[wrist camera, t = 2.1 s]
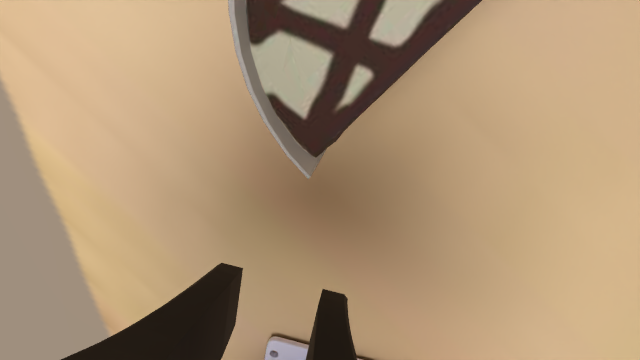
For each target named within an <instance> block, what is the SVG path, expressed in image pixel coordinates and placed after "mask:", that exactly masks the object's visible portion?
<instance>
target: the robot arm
mask: <svg viewBox="0 0 640 360" xmlns="http://www.w3.org/2000/svg"><path fill="white" fill-rule="evenodd" d="M242 271H243V268H240V267H236V266H232V265H228V264H224V263H221V264H219V265H217V266H216V267H215V268H214V269H212V270H211V271H210V272H208V273H207V274H206V275H205V276H203V277H202V278H201V279H199V280H198V281H197V282H195V283H194V284H193V285H191V286H190V287H189V288H187V289H186V290H185V291H183V292H182V293H180V294H179V295H178V296H176V297H175V298H173V299H172V300H171V301H169V302H168V303H166V304H165V305H163V306H162V307H160V308H159V309H157V310H155V311H154V312H152V313H151V314H149V315H147V316H146V317H144V318H143V319H141V320H140V321H138V322H136V323H134V324H133V325H131V326H129V327H128V328H126V329H124V330H122V331H120V332H119V333H117V334H115V335H113V336H111V337H109V338H107V339H105V340H103V341H101V342H99V343H97V344H95V345H93V346H91V347H89V348H86V349H84V350H82V351H79V352H77V353H75V354H73V355H70V356H68V357H66V358H64V359H61V360H221V358H222V356H223V354H224V351H225V349H226V346H227V344H228V341H229V339H230V336H231V334H232V331H233V329H234V326H235V322H236V315H237V308H238V300H239V293H240V286H241V278H242ZM347 300H348V299H347V297H346V296H345V295H344V294H340V293H337V292H333V291H329V290H325V289H323V290H322V293H321V297H320V301H319V305H318V309H317V313H316V317H315V322H314V326H313V330H312V334H311V339H310V343H309V345H307V344H303V343H299V342H296V341H292V340H288V339H284V338H281V337H276V336H274V337H271V338H270V339H269V341H268V344H267V348H266V353H265V359H264V360H362V359H359V358H357V357H356V353H355V349H354V345H353V341H352V336H351V331H350V325H349V318H348V306H347ZM272 350H274V351H277V352H273V351H272Z"/></svg>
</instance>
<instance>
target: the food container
mask: <svg viewBox="0 0 640 360" xmlns="http://www.w3.org/2000/svg"><path fill="white" fill-rule="evenodd" d="M481 1H482V0H228V4H229V16H230V22H231V28H232V34H233V39H234V45H235V51H236V54H237V58H238V61H239V64H240V67H241V70H242V73H243V76H244V79H245V83H246V86H247V89H248V91H249V93H250V95H251V97H252V99H253V101H254V103H255V105H256V107H257V109H258V111H259V113H260V115H261V117H262V119H263V121H264V123H265V124H266V126H267V127H268V129H269V130H270V132H271V133H272V135H273V136H274V138H275V139H276V141H277V142H278V144H279V145H280V147H281V148H282V149H283V151H284V152H285V154H286V155H287V156H288V158H289V159H290V160H291V161H292V162H293V163H294V164H295V165H296V166H297V167H298V168H299V170H300V171H301V172H302V173H303V174H304V175H305V176H306V177H307V178H308V179H309V178H310V177H311V175H312V173H313V172H314V170H315V168H316V166H317V165H318V163H319V161H320V159H321V158H322V156H323V154H324V152H325V151H326V149H327V147H329V146H330V145H331V144H333V143H334V142H335V141H337V139H338V138H339V137H340V136H341V134H342V133H343V132H344V131H345V130H346V129H347V128H348V127H349V126H350V125H351V124H352V123H353V122H354V121H355V120H356V119H357V118H358V117H359V116H360V115H361V114H362V113H363V112H364V111H365V110H366V109H367V108H368V107H369V106H370V105H371V104H372V103H373V102H374V101H376V100H377V99H378V98H379V97H380V96H381V95H382V94H383V93H384V92H385V91H386V90H387V89H388V88H389V87H390V86H391V85H392V84H393V83H395V82H396V81H397V80H398V79H399V78H400V77H401V76H402V75H403V74H404V73H405V72H406V71H407V70H408V69H409V68H410V67H411V66H412V65H413V64H414V63H415V62H416V61H417V60H418V59H420V58H421V57H422V56H423V55H424V54H425V53H426V52H427V51H428V50H429V49H430V48H431V47H432V46H433V45H434V44H436V43H437V42H438V41H439V40H440V39H441V38H442V37H443V36H444V35H445V34H446V33H447V32H448V31H450V30H451V29H452V28H453V27H454V26H455V25H456V24H457V23H458V22H459V21H460V20H461V19H462V18H463V17H465V16H466V15H467V14H468V13H469V12H470V11H471V10H472V9H473V8H474V7H475V6H476V5H477V4H479V3H480V2H481Z"/></svg>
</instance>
